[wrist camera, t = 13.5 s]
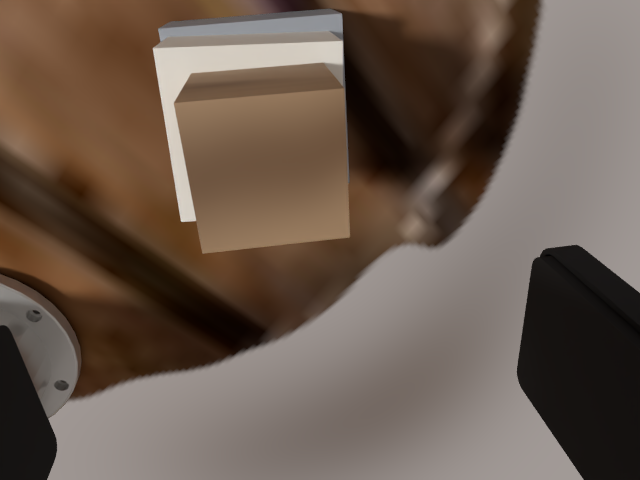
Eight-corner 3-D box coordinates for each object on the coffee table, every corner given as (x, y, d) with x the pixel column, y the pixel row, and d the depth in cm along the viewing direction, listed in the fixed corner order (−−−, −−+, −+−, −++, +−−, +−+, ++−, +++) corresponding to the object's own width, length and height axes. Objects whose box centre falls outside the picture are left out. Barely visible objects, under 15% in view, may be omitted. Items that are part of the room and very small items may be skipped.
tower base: (337, 158, 30) (349, 182, 26) (199, 172, 29) (192, 199, 26) (329, 8, 26) (341, 13, 23) (171, 21, 26) (157, 28, 22)
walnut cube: (329, 184, 22) (349, 237, 18) (212, 196, 22) (202, 253, 17) (323, 62, 20) (344, 88, 15) (190, 73, 19) (173, 103, 15)
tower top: (330, 178, 26) (343, 210, 23) (190, 187, 25) (181, 221, 22) (328, 30, 23) (342, 40, 19) (168, 36, 22) (152, 48, 19)
